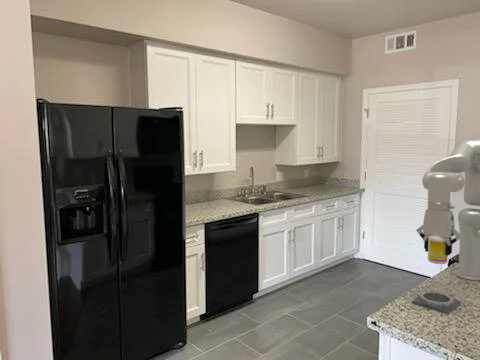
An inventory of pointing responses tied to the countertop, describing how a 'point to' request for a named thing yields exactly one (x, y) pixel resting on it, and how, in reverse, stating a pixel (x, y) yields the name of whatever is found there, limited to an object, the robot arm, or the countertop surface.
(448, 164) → the robot arm
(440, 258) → the supplement bottle
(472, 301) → the countertop surface
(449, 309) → the ring plate
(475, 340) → the countertop surface
